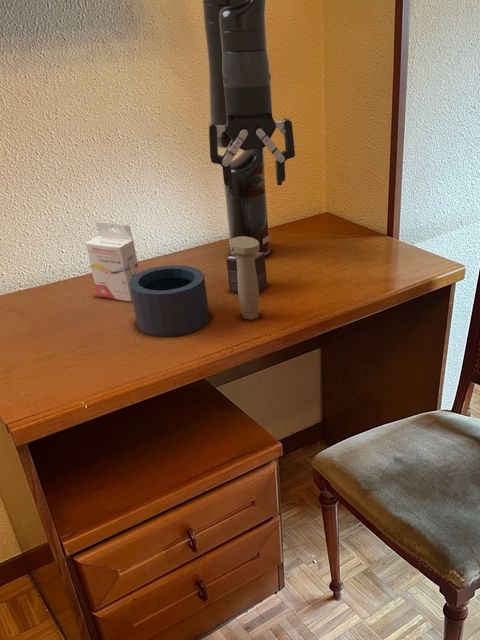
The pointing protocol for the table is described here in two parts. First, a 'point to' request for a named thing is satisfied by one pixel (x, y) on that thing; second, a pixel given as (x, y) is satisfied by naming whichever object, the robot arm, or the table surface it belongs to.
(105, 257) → the ink cartridge box
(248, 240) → the handle
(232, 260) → the box
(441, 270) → the table surface
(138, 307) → the jar
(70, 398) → the table surface
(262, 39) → the robot arm
